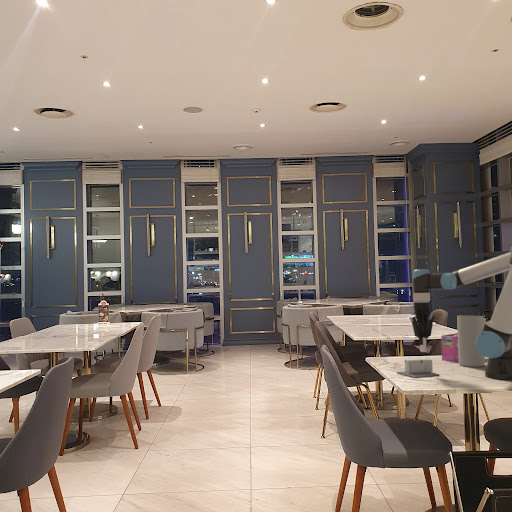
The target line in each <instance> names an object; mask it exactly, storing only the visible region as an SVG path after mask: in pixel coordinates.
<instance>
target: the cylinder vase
mask: <svg viewBox="0 0 512 512" xmlns="http://www.w3.org/2000/svg"><path fill="white" fill-rule="evenodd" d="M456 317H457V318H456V321H457V324H456V325H457V333H458V358H459V361H458V364H459V366H462V367H466V368H467V367H468V368H480V367H484V366H485V365H486V357H485V356H483V355H482V354H480V353H479V351H478V350H477V348H476V338H477V336H478V335H479V334H480V333H481V332H482V330H483V327H484V325H485V323H484V316H483V315H457V316H456Z"/></svg>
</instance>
